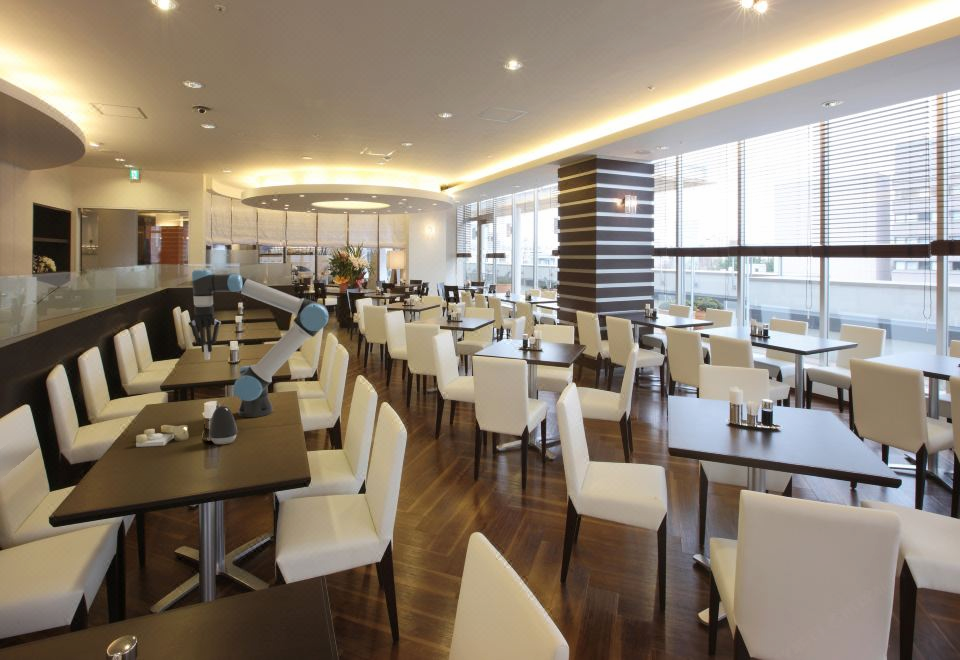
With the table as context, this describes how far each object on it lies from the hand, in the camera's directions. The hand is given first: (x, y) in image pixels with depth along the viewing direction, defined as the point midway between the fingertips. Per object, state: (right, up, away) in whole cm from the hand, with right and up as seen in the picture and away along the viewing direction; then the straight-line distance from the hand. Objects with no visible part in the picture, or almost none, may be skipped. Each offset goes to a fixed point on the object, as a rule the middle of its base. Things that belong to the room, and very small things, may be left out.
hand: (207, 359), depth 237 cm
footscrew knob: (-5, -31, -16) cm, 36 cm away
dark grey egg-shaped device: (+17, -33, -21) cm, 42 cm away
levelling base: (-11, -32, -19) cm, 39 cm away
